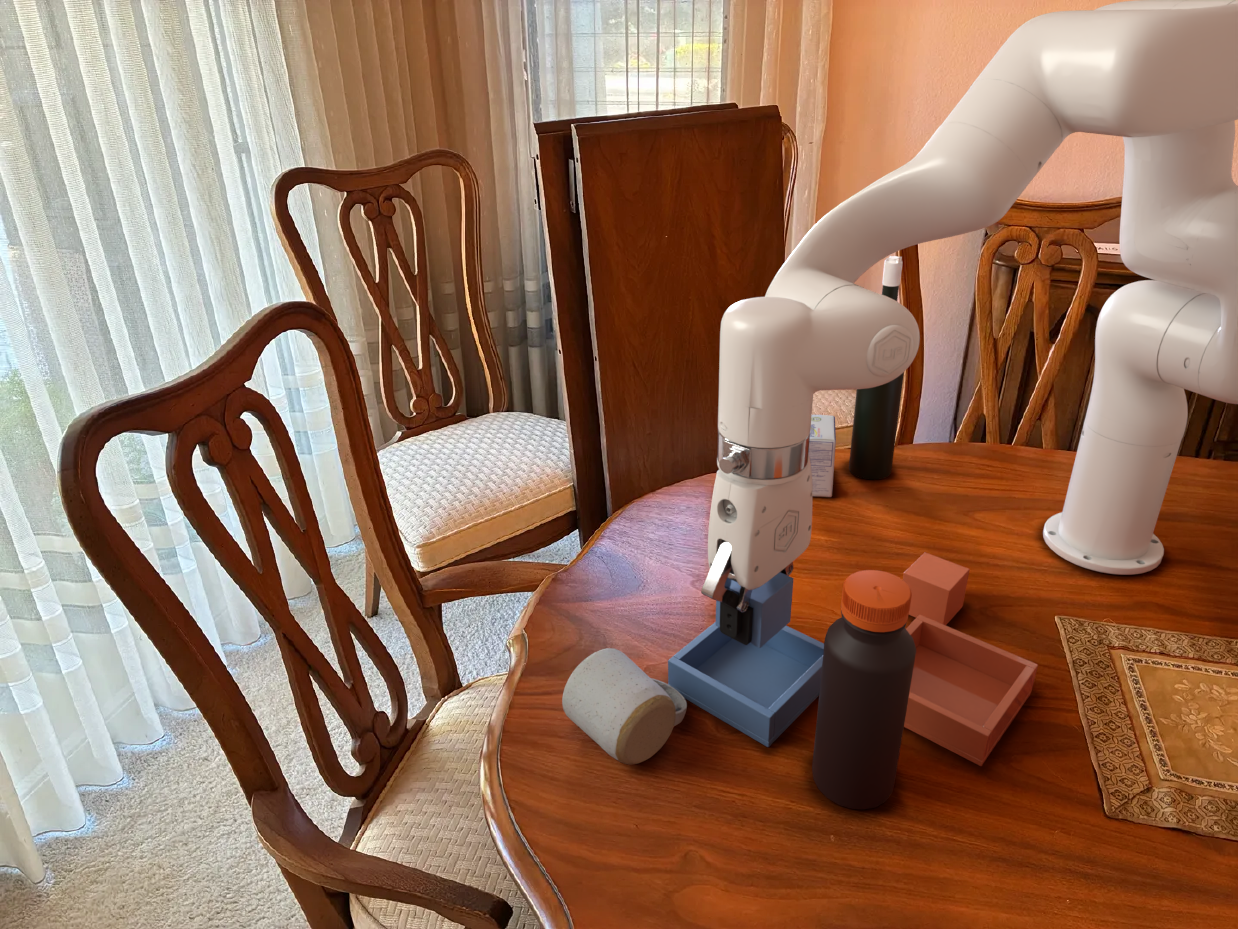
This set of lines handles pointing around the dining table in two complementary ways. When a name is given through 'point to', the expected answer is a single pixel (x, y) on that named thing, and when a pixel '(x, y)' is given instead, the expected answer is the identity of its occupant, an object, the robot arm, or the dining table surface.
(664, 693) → the ceramic mug
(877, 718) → the black bottle
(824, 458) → the medicine box
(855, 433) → the wine bottle
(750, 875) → the dining table surface
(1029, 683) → the terracotta bin
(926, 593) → the terracotta block
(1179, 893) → the dining table surface
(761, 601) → the blue block
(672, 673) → the blue bin
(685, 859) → the dining table surface
